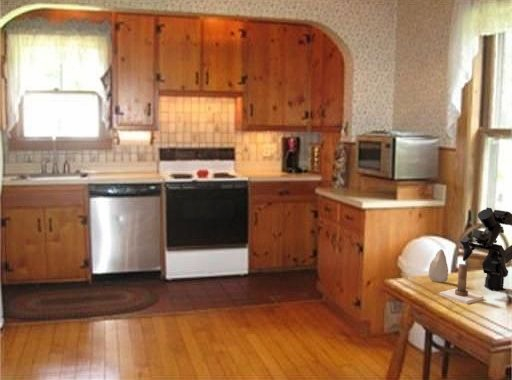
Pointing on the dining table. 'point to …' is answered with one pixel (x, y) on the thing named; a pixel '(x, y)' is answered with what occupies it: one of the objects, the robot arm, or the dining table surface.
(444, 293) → the tile
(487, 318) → the dining table surface
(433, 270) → the stone tool
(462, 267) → the tamper
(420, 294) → the dining table surface
